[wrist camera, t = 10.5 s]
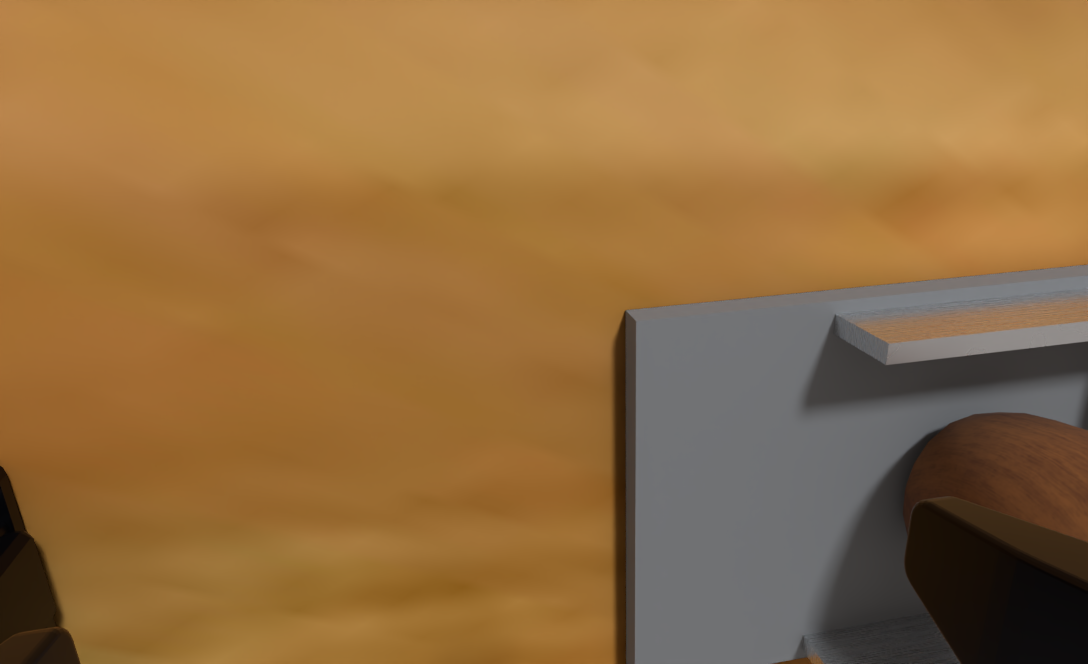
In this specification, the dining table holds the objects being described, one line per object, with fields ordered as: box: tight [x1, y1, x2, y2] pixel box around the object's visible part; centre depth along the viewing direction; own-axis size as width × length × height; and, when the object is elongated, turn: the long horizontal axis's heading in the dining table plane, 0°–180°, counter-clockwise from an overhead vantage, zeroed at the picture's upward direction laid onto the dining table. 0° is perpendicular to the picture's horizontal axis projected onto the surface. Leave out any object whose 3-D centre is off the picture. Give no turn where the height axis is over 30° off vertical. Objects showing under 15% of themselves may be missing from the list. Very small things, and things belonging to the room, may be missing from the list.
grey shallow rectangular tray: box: [626, 265, 1088, 664], centre depth 23 cm, size 17×13×4 cm
